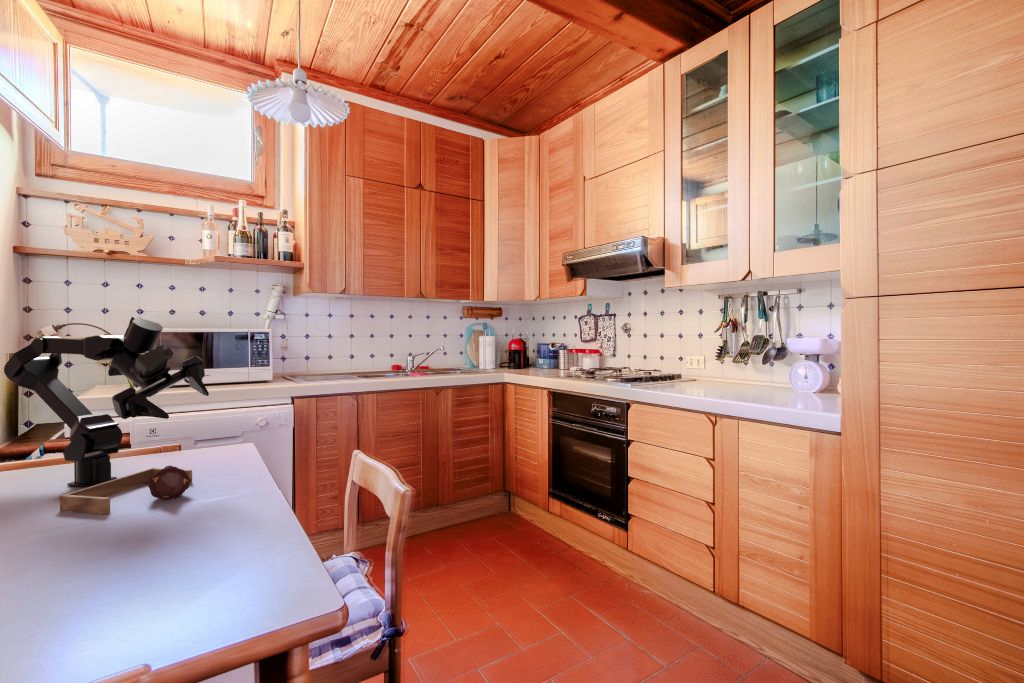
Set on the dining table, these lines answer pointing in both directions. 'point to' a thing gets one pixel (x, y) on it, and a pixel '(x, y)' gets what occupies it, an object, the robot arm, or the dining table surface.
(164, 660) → the dining table surface
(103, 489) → the holder
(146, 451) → the dining table surface
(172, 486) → the icecream
